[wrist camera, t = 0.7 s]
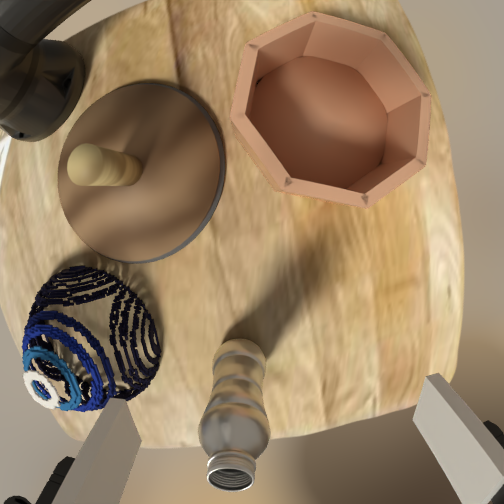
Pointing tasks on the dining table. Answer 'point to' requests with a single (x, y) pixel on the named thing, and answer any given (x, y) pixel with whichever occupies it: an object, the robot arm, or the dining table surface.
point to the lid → (138, 172)
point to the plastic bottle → (235, 416)
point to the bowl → (331, 110)
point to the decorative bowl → (46, 352)
